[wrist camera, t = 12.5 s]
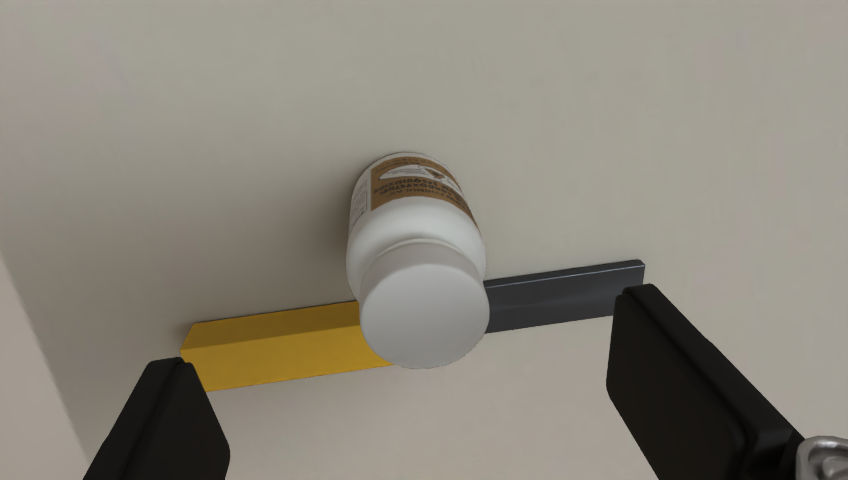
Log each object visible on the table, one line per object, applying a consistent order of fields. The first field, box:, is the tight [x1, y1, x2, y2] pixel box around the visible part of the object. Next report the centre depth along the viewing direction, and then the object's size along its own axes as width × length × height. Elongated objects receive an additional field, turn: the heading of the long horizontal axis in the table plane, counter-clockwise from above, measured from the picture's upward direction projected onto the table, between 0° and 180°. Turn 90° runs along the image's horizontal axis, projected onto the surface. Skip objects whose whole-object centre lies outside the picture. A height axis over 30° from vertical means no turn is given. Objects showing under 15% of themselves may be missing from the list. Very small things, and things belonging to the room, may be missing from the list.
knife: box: [180, 260, 645, 392], centre depth 21 cm, size 20×3×2 cm, turn 96°
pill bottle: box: [346, 152, 490, 369], centre depth 16 cm, size 4×4×8 cm
